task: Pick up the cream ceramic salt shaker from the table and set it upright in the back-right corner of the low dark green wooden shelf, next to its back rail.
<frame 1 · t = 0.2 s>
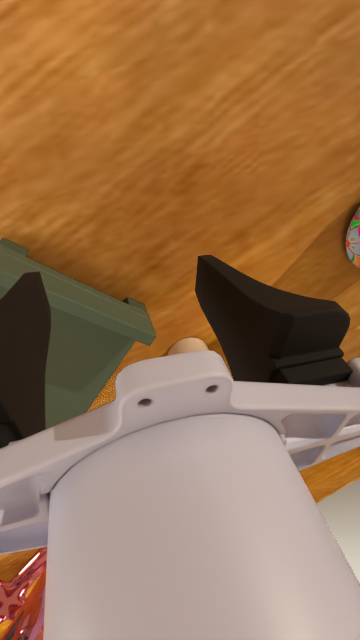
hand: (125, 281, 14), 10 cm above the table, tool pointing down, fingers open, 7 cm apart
spiral basket: (13, 548, 42), on the table
shelf: (40, 348, 27), on the table
salt shaker: (187, 354, 32), on the table
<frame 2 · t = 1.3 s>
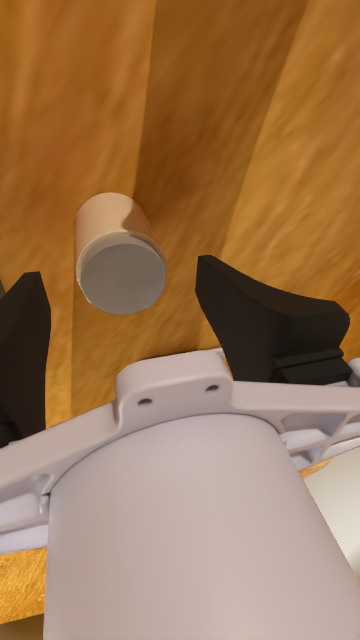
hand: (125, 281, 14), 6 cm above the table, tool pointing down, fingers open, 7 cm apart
salt shaker: (112, 229, 19), on the table
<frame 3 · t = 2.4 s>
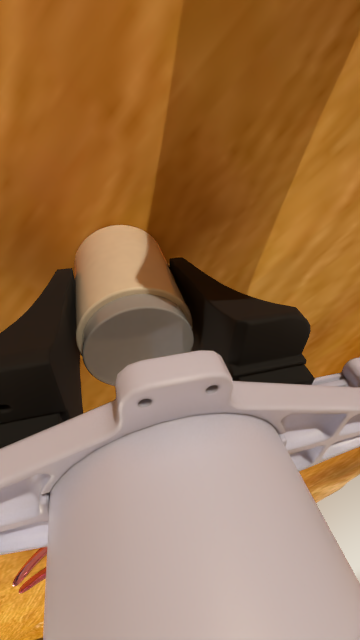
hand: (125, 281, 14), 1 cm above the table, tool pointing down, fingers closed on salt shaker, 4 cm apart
spiral basket: (122, 526, 39), on the table
salt shaker: (120, 266, 15), on the table, touching gripper
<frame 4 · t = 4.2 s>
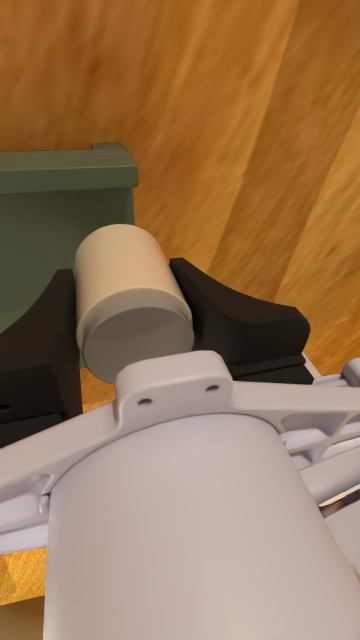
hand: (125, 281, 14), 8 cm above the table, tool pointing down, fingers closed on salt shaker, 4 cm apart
shelf: (49, 270, 22), on the table
salt shaker: (120, 265, 15), point 7 cm above the table, touching gripper
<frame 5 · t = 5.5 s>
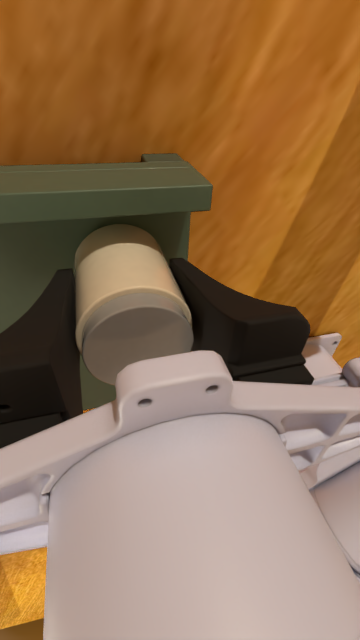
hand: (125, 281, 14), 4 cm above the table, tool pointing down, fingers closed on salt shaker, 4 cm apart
shelf: (80, 298, 19), on the table
salt shaker: (120, 265, 15), point 3 cm above the table, touching gripper
when the fingers open (4 cm above the table, at t = 6.0 s): salt shaker stays where it is, resting on shelf.
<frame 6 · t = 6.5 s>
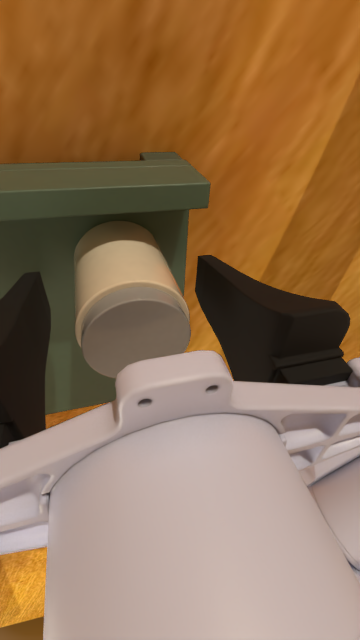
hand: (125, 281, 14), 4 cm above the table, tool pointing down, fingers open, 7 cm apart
shelf: (79, 296, 19), on the table
salt shaker: (119, 262, 16), point 2 cm above the table, touching shelf
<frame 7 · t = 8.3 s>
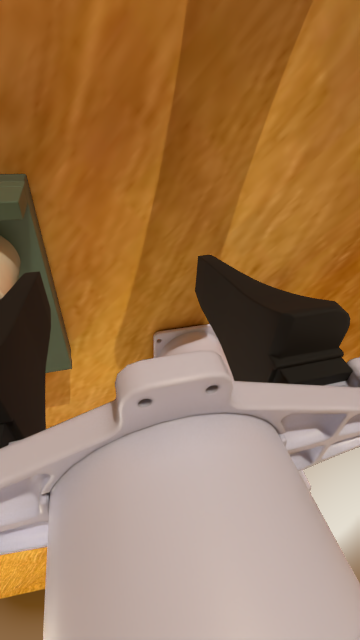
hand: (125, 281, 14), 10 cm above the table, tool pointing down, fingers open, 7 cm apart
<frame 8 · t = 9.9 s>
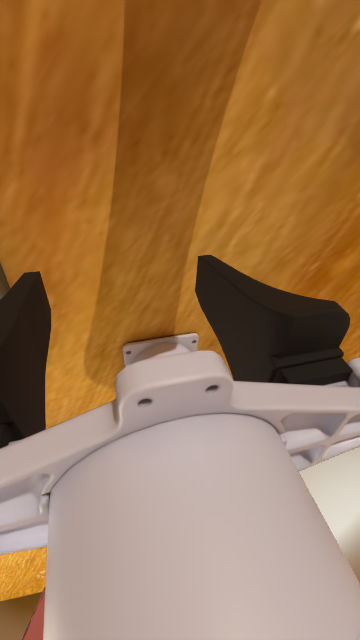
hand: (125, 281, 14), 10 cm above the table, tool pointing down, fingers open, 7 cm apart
spiral basket: (109, 466, 47), on the table
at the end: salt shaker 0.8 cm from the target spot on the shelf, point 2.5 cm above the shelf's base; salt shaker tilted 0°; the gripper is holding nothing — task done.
